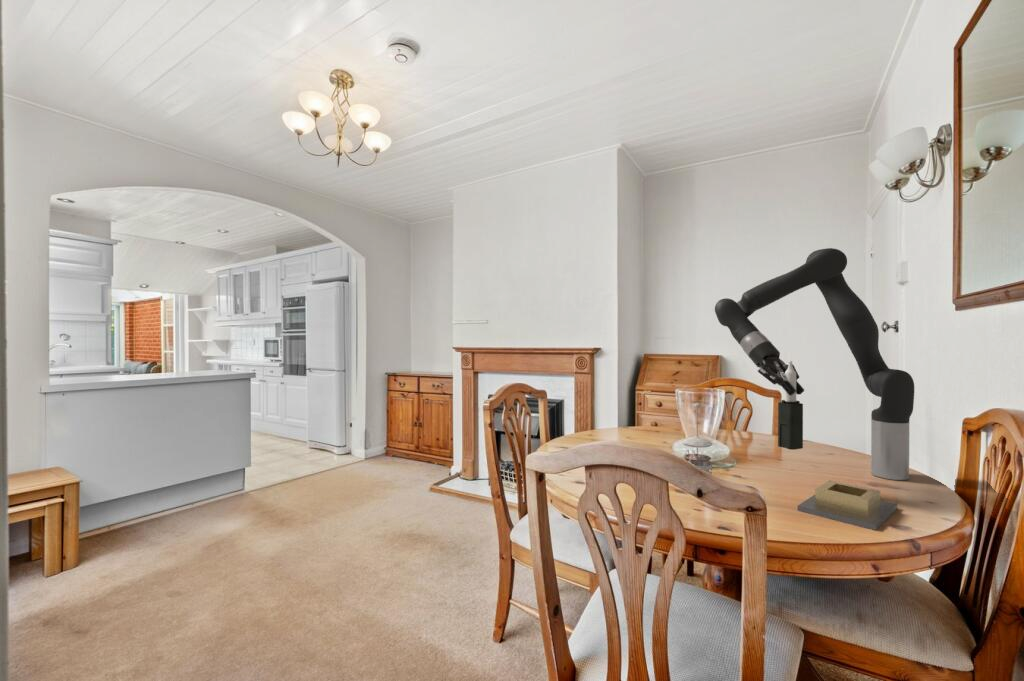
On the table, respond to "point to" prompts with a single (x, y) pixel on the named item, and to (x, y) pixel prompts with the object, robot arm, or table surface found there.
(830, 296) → the robot arm
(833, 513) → the candle plate
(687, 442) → the french press
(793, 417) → the candle
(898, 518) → the table surface
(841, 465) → the table surface
